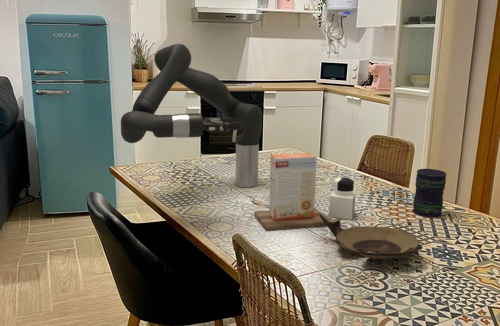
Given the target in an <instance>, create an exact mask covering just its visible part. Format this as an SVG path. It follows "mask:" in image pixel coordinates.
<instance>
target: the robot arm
mask: <svg viewBox="0 0 500 326" xmlns="http://www.w3.org/2000/svg"><path fill="white" fill-rule="evenodd" d="M154 63H155V66H156V67H157V69H158V70H159V71H160V72H159V73H157V75H155V77H154V78H152V80H150V81H149V82H148V83H147V84H146V85H145V86H144V88H142V90H141V92H140V93H139V95H138V96H137V98H136V99H135V101H134V103H133V106H132V110H131V111H128V112H125V113H124V114H123V115H122V116H121V118H120V135H121V137H122V139H123V140H124V142H127V143H129V144H135V143H138V142H139V141H141V140H142V139H143V138H144V137H145V135H146V133H147V132H151V133H152V134H153V136H154V137H156V138H157V139H161V138H176V139H177V138H179V139H182V138H183V139H185V138H202V136H203V134H204V131H207V132H208V133H210V134H211V133H229V131H238V130H241V127H243V128H244V129H243V133H242V134H240V135H237V136H236V138H235V139H236V140H235V181H234V182H235V186H237V187H240V188H254V187H258V184H259V183H258V181H259V154H260V153H259V149H260V147H259V146H260V139H261V136H262V129H263V128H262V125H263V112H262V109H261V107H260V105H259V106H258V105H256V104H252V103H244V102H242V101H239V100H238V99H236V98H235V97H233V96H232V94H231V92H230V90H229V89H228V86H227V85H226V84H225V83H224V82H222V81H221V80H220V79H219V78H217V76H215V75H213V74H212V73H208V72H205V71H201V70H199V69H194V68H192V67H190V65H191V63H192V54H191V52H190V50H189V48H188V47H187V46H186V45H184V44H182V43H175V44H171V45H169V46H166V47H163V48H161V49H159V50H158V51H156V52H155V55H154ZM175 83H179V84H181V85H182V86H185V88H187V89H189V90H190V91H191V92H193V93H195V94H196V95H197V96H198V97H200V98H201V99H203V100H204V101H205V102H207V103H208V104H210V105H211V106H213V107H214V108H216V109H218V110H219V111H221V112H222V113H224V114H225V115H226V116H227V117H228V118H222V117H218V116H216V117H215V116H214V117H203V115H202V114H201V113H200V112H197V113H195V112H193V113H175V114H155V113H156V112H157V110H158V109H159V107H160V106H161V103H162V102H163V100H164V98H165V96H166V95H167V94H168V93H169V91H170V90H171V88H172V87H173V86H174V85H175Z"/></svg>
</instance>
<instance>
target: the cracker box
mask: <svg viewBox="0 0 500 326" xmlns="http://www.w3.org/2000/svg"><path fill="white" fill-rule="evenodd" d="M269 167H270V171H269V172H270V173H269V175H270V177H269V210H268V211H269V215H270V216H271V217H272V219H273V220H274V221H277V220H289V219H301V218H313V217H314V208H315V203H316V202H315V200H316V199H315V197H316V178H317V156H316V155H314V154H312V153H310V152H307V153H304V152H303V153H285V154H284V153H283V154H270V166H269Z"/></svg>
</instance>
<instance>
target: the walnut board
mask: <svg viewBox="0 0 500 326" xmlns="http://www.w3.org/2000/svg"><path fill="white" fill-rule="evenodd" d="M269 211H270V210H261V211H260V210H259V211H254V213H253V216H254V217H255V219H256V220H257V221H258V222H259V224H260V225H261V227H263V229H264V230H265V231H266V232H270V231H284V230H297V229H307V228H308V229H309V228H322V227H327V225H326V224H325V223H324V222H323V220H322V219H321V217H320V214H321V213H322V212H321V211H320V210H319V209H317V208H316V207H314V217H313V218H301V219H289V220H277V221H274V220H273V219H272V217H271V216H270V215H269Z"/></svg>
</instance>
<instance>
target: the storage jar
mask: <svg viewBox="0 0 500 326" xmlns="http://www.w3.org/2000/svg"><path fill="white" fill-rule="evenodd" d="M446 177H447V173H446V172H445V171H443V170H439V169H434V168H420V169H417V170H416V176H415V184H414V185H415V193H414V194H415V195H414V197H413V202H412V203H413V204H412V207H413V208H412V213H413V214H414V215H416V216H419V217H422V218H423V217H424V218H429V219H431V218H433V219H435V218H439V217H441V216H442V211H443V207H444V205H443V204H444V199H443V197H444V191H445V189H446V183H447V181H446V180H447V178H446Z"/></svg>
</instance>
